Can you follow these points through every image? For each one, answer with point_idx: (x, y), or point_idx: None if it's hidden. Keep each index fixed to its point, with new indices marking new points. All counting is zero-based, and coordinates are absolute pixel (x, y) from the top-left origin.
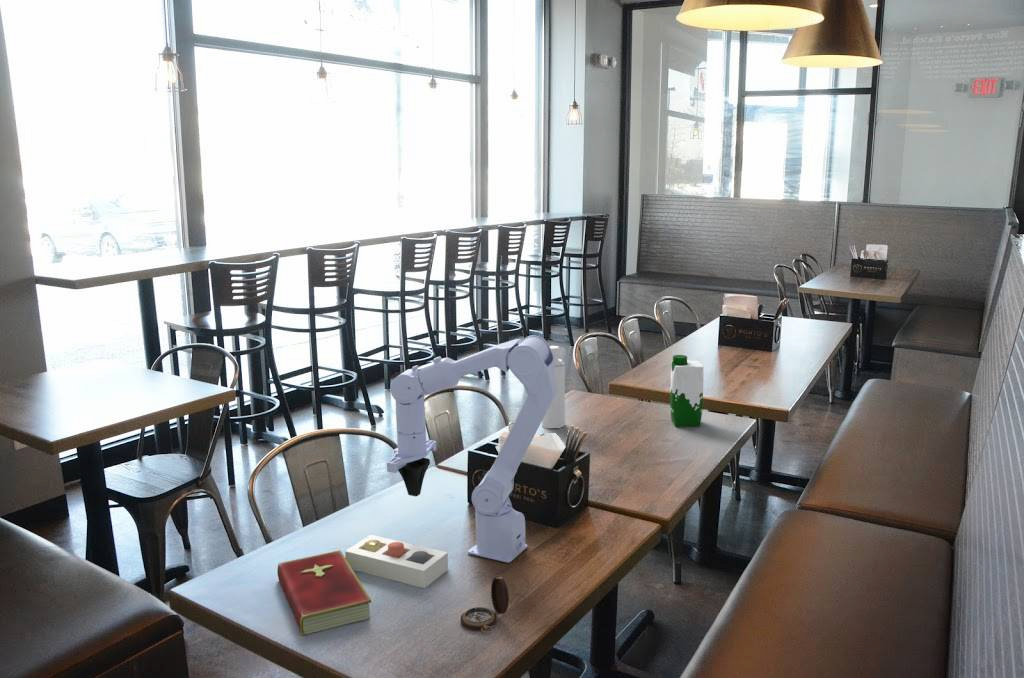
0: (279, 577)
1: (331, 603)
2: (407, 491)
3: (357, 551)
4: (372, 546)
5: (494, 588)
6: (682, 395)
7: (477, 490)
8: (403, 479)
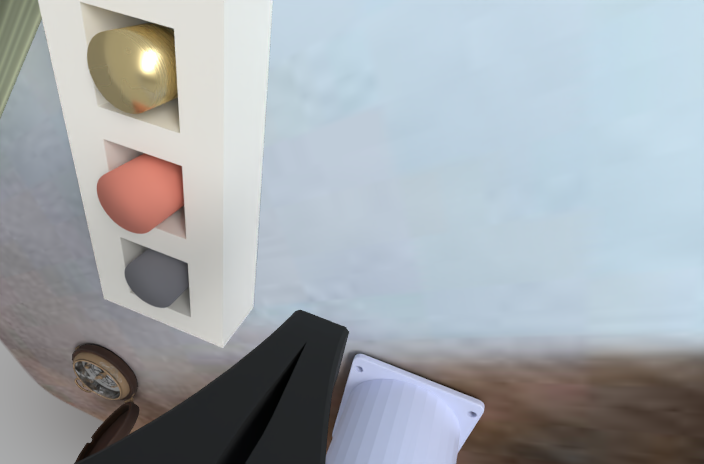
0: None
1: None
2: (281, 326)
3: (59, 16)
4: (98, 88)
5: (124, 432)
6: None
7: None
8: (182, 404)
